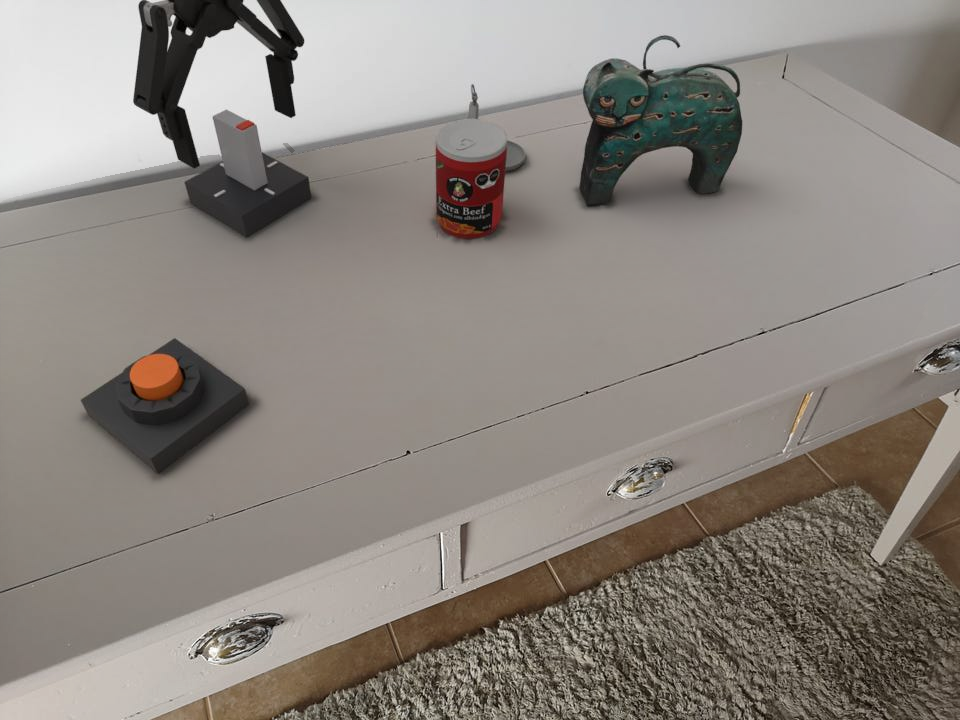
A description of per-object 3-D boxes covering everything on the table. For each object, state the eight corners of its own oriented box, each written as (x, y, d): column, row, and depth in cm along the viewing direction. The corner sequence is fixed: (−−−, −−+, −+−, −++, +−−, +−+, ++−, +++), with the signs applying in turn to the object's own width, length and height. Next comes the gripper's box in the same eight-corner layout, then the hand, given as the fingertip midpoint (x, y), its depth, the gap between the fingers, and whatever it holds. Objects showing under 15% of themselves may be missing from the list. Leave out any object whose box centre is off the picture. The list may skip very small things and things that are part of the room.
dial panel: (190, 203, 92) (183, 180, 89) (255, 167, 97) (251, 145, 95) (246, 237, 88) (241, 214, 85) (311, 198, 93) (308, 175, 91)
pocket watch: (534, 165, 100) (542, 92, 93) (479, 183, 97) (482, 110, 89) (500, 135, 105) (504, 64, 97) (446, 151, 101) (446, 79, 94)
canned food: (426, 231, 90) (424, 148, 82) (450, 194, 95) (451, 111, 87) (489, 247, 88) (494, 163, 80) (509, 208, 93) (516, 125, 85)
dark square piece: (88, 415, 70) (72, 386, 67) (180, 353, 75) (169, 324, 72) (157, 474, 66) (144, 445, 63) (249, 404, 71) (241, 375, 68)
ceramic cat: (575, 213, 93) (600, 51, 79) (561, 182, 98) (582, 23, 83) (729, 199, 96) (780, 41, 82) (708, 170, 101) (754, 14, 86)
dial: (225, 174, 91) (211, 114, 85) (239, 167, 92) (226, 107, 86) (254, 190, 89) (241, 130, 83) (268, 183, 90) (256, 122, 84)
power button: (125, 385, 68) (119, 372, 66) (164, 360, 70) (158, 346, 69) (154, 408, 66) (148, 395, 65) (192, 381, 68) (187, 368, 67)
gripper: (96, -21, 62) (166, 200, 78) (321, -95, 76) (343, 105, 92) (43, -44, 65) (121, 172, 81) (269, -112, 79) (299, 84, 95)
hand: (239, 137), depth 86 cm, fingers open, 13 cm apart
